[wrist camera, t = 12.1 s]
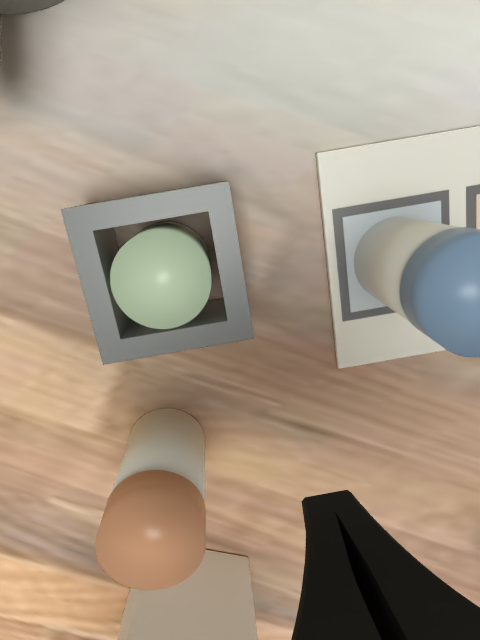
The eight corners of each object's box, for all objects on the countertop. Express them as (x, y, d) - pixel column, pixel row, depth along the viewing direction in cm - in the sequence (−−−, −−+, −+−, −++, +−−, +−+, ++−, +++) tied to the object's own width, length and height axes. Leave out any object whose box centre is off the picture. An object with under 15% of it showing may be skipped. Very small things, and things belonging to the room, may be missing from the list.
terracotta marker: (210, 469, 24) (212, 581, 17) (135, 480, 23) (107, 597, 17) (200, 402, 22) (197, 493, 16) (121, 412, 22) (84, 509, 16)
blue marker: (436, 295, 21) (542, 349, 14) (353, 306, 21) (422, 364, 14) (438, 210, 20) (554, 226, 13) (351, 220, 20) (424, 241, 13)
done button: (217, 296, 20) (219, 320, 17) (137, 310, 20) (123, 336, 17) (202, 215, 19) (201, 222, 16) (117, 229, 19) (98, 239, 16)
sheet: (573, 324, 23) (579, 327, 22) (337, 366, 22) (339, 369, 22) (588, 107, 20) (596, 106, 19) (315, 153, 19) (317, 152, 19)
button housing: (246, 313, 21) (253, 338, 18) (119, 335, 21) (103, 364, 18) (225, 180, 19) (228, 181, 16) (85, 204, 19) (60, 209, 16)
